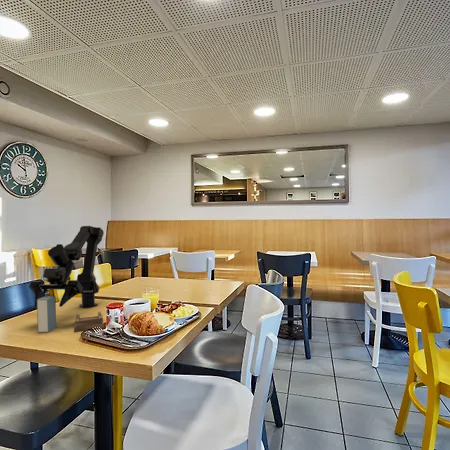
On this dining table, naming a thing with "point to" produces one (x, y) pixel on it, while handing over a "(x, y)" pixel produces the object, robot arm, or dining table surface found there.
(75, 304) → the dining table surface
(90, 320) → the stand
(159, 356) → the dining table surface
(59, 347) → the dining table surface
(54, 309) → the grey rectangular block
